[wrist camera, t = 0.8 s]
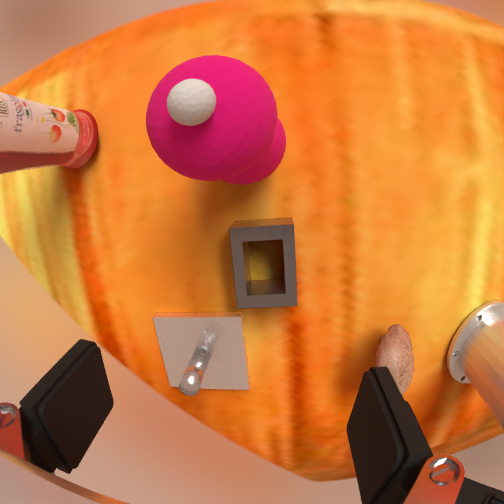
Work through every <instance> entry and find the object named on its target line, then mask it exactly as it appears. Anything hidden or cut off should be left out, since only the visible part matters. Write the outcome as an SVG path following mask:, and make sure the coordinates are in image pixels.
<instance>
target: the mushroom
mask: <svg viewBox="0 0 504 504" xmlns="http://www.w3.org/2000/svg"><path fill="white" fill-rule="evenodd" d="M413 364H414V357H413V353H412V343H411V339H410V337H409V334H408V333H407V332H406V331H405V330H404V328H403V327H402V326H400V325H399V324H395V325H392V326H391V327H390V328H389V329H388V332H387V333H386V335H384V336H382V337H381V343H380V344H379V346H377V350H376V367H384V366H386V367H388V369H389V371H390V372H391V374H392V376H393V378H394V380H395V382H396V384H397V386H398V388H399V390H400V392H401V394H402V395H403V394H404V392H405V391H406V390H407V388H408V387H409V384H410V382H411V379H412V376H413V372H414V365H413Z"/></svg>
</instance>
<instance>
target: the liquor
mask: <svg viewBox="0 0 504 504" xmlns="http://www.w3.org/2000/svg"><path fill="white" fill-rule="evenodd" d="M97 141H98V127H97V123H96V120H95V118H94V117H93V115H92V114H90V113H89V112H88V111H86V110H81V109H79V110H74V111H69V110H65V109H61V108H57V107H53V106H49V105H45V104H41V103H37V102H33V101H30V100H26V99H23V98H19V97H15V96H12V95H8V94H4V93H0V174H4V173H9V172H14V171H19V170H26V169H34V168H42V167H51V166H63V167H65V168H68V169H76V168H79V167H81V166H83V165H84V164H85V163H86V162H87V161H88V160H89V159H90V158H91V156H92V154H93V153H94V150H95V148H96V145H97Z"/></svg>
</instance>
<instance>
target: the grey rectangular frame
mask: <svg viewBox="0 0 504 504" xmlns="http://www.w3.org/2000/svg"><path fill="white" fill-rule="evenodd" d="M229 231H230V241H231V251H232V261H233V270H234V280H235V289H236V298H237V307H238V308H262V307H283V306H297V283H296V259H295V239H294V224H293V220H292V217H290V218H274V219H259V220H244V221H235V222H234V224H233V225H232V226H231V227H230V228H229ZM279 239H283V251H284V269H285V279H274V280H254V281H251V273H250V262H249V251H248V241H263V240H279Z"/></svg>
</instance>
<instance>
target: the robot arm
mask: <svg viewBox="0 0 504 504" xmlns="http://www.w3.org/2000/svg"><path fill="white" fill-rule="evenodd" d="M447 367H448V370H449V373H450V374H451V376H452V377H453V378H454V379H455V380H456V381H458V382H460V383H465V384H466V383H472V385H473V386H474V387H475V389H476V390H477V392H478V393H479V394H480V396H481V397H482V399H483V400H484V401H485V403H486V404H487V406H488V407H489V408H490V410H491V411H492V413H493V414H494V416H495V417H496V419H497V420H498V422H499V423H500V425H501V426H502V428H503V429H504V302H503V301H491V302H488V303H486V304H484V305H482V306H481V307H479V308H477V309H476V310H475V311H474V312H473V313H471V314H470V315H469V316H468V317H467V319H466V320H465V321H464V322H463V323H462V325H461V326H460V327H459V329H458V330H457V332H456V334H455V335H454V337H453V339H452V342H451V344H450V347H449V350H448V355H447ZM20 405H21V407H20V408H19V409H18V408H17V406H15V405H14V404H11V403H0V504H129V503H125V502H122V501H119V500H116V499H113V498H110V497H107V496H104V495H101V494H99V493H96V492H93V491H91V490H88V489H86V488H83V487H81V486H79V485H76V484H74V483H71V482H69V481H67V480H64V479H62V478H60V477H58V476H56V475H55V473H54V471H55V469H56V468H58V469H59V470H61V471H64V472H66V473H68V474H70V473H71V471H72V469H75V468H77V467H78V465H79V463H80V462H81V460H82V458H83V456H84V455H85V453H86V451H87V449H88V448H89V446H90V444H91V443H92V441H93V439H94V438H95V436H96V434H97V433H98V431H99V429H100V428H101V426H102V424H103V423H104V421H105V419H106V418H107V416H108V414H109V413H110V411H111V410H112V407H113V397H112V394H111V390H110V387H109V383H108V379H107V375H106V372H105V368H104V363H103V359H102V355H101V350H100V348H99V347H97V345H96V343H95V342H92V341H87V340H83V339H80V340H79V341H78V342H77V343H76V344H75V345H74V346H73V347H72V348H71V349H70V350H69V351H68V352H67V353H66V354H65V355H64V356H63V357H62V358H61V359H60V360H59V361H58V362H57V363H56V364H55V365H54V366H53V367H52V368H51V369H50V370H49V371H48V372H47V373H46V374H45V375H44V376H43V377H42V378H41V380H40V381H39V382H38V383H37V384H36V385H35V386H34V387H33V388H32V389H31V390H30V391H29V392H28V393H27V395H26V396H25V397H24V398H23V399H22V400H21V401H20ZM347 435H348V439H349V444H350V448H351V453H352V457H353V462H354V466H355V471H356V476H357V481H358V485H359V491H360V495H361V501H362V504H504V492H503V491H501V490H498V489H495V488H492V487H489V486H486V485H484V484H481V483H478V482H475V481H473V480H471V479H468V478H465V477H464V475H465V470H464V466H463V465H462V463H461V462H460V461H459V460H458V459H457V458H455V457H453V456H451V455H447V454H438V455H435V456H433V454H432V451H431V449H430V447H429V445H428V442H427V440H426V438H425V436H424V434H423V432H422V429H421V427H420V425H419V423H418V421H417V419H416V417H415V415H414V413H413V411H412V409H411V407H410V405H409V403H408V402H407V401H404V399H403V397H402V394H401V392H400V390H399V388H398V386H397V384H396V382H395V380H394V378H393V376H392V374H391V372H390V371H389V369H388V367H386V366H384V367H371V368H370V369H369V371H366V372H365V373H364V375H363V378H362V382H361V385H360V388H359V391H358V394H357V397H356V400H355V403H354V406H353V409H352V412H351V415H350V418H349V421H348V424H347Z"/></svg>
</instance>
